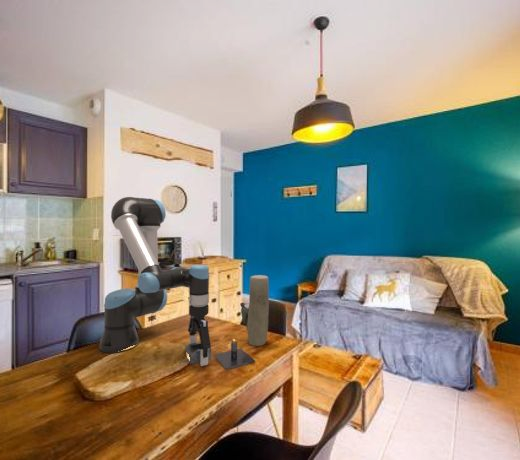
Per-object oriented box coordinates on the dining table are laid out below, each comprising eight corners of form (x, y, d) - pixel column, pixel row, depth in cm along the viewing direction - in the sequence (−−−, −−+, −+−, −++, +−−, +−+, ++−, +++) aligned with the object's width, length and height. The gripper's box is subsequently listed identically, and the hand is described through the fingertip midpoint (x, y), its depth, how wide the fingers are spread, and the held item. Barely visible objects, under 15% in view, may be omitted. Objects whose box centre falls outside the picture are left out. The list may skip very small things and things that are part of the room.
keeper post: (214, 356, 113) (214, 336, 113) (240, 350, 119) (241, 331, 119) (226, 370, 102) (226, 348, 102) (254, 362, 109) (255, 341, 108)
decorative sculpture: (235, 343, 126) (236, 276, 125) (244, 335, 135) (245, 273, 134) (263, 348, 121) (264, 279, 120) (271, 340, 130) (272, 275, 129)
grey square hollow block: (185, 355, 113) (185, 344, 113) (204, 351, 117) (204, 340, 117) (191, 364, 106) (191, 352, 106) (211, 359, 110) (211, 348, 110)
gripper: (181, 298, 120) (180, 347, 120) (200, 314, 98) (199, 374, 99) (198, 296, 124) (197, 344, 124) (220, 311, 102) (219, 369, 102)
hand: (198, 357), depth 111 cm, fingers open, 13 cm apart
